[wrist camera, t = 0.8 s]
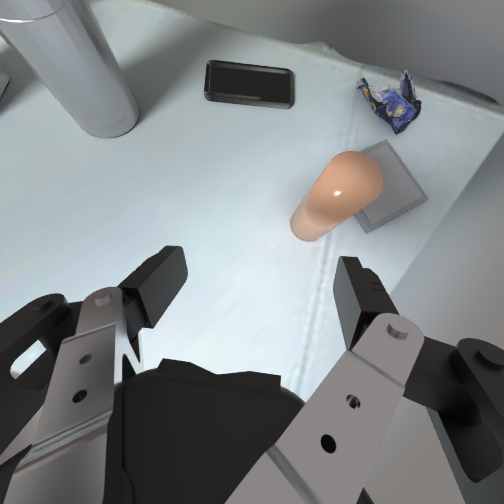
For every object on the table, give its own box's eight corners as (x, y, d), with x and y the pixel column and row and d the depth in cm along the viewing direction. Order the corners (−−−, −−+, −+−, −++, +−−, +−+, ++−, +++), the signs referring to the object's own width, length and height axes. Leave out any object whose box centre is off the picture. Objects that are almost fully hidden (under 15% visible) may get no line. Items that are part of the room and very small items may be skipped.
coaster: (325, 170, 35) (328, 166, 34) (382, 143, 37) (386, 139, 36) (366, 233, 33) (371, 231, 32) (423, 201, 35) (429, 198, 34)
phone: (207, 59, 37) (293, 69, 38) (207, 66, 38) (291, 75, 39) (203, 96, 35) (293, 106, 36) (204, 103, 36) (291, 111, 37)
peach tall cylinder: (283, 216, 33) (315, 164, 20) (313, 201, 34) (362, 143, 21) (302, 247, 32) (347, 214, 19) (332, 231, 33) (394, 189, 20)
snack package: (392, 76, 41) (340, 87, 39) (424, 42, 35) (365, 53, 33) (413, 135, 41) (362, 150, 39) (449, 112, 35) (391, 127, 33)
